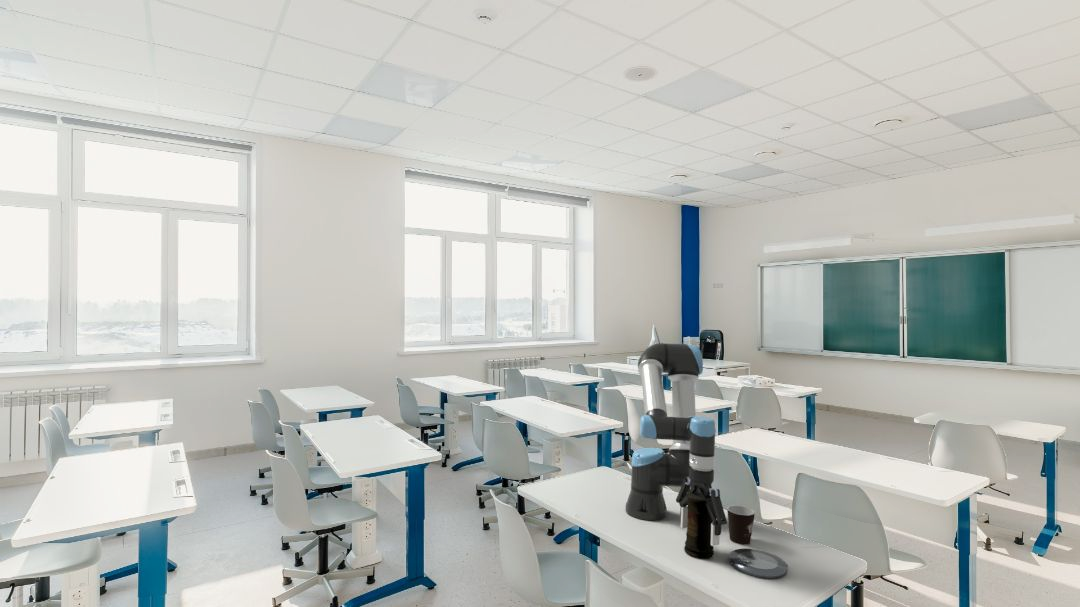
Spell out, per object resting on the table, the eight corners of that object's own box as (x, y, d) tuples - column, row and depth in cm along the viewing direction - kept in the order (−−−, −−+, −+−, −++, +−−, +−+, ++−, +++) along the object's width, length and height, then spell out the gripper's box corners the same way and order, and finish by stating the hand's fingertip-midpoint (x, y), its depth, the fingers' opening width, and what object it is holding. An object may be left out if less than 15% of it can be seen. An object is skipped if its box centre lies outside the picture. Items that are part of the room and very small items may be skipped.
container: (694, 543, 170) (696, 488, 170) (719, 554, 163) (721, 496, 163) (678, 551, 164) (679, 493, 164) (703, 562, 157) (705, 502, 158)
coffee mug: (736, 547, 168) (737, 516, 169) (720, 536, 177) (721, 506, 177) (767, 544, 172) (768, 513, 172) (750, 533, 180) (751, 504, 180)
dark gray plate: (717, 558, 160) (717, 552, 160) (756, 550, 167) (756, 544, 167) (759, 583, 146) (759, 577, 146) (799, 573, 152) (799, 567, 152)
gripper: (666, 458, 174) (664, 522, 173) (721, 481, 151) (719, 555, 151) (684, 456, 177) (682, 519, 177) (740, 478, 154) (738, 551, 154)
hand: (699, 535), depth 164 cm, fingers open, 13 cm apart
